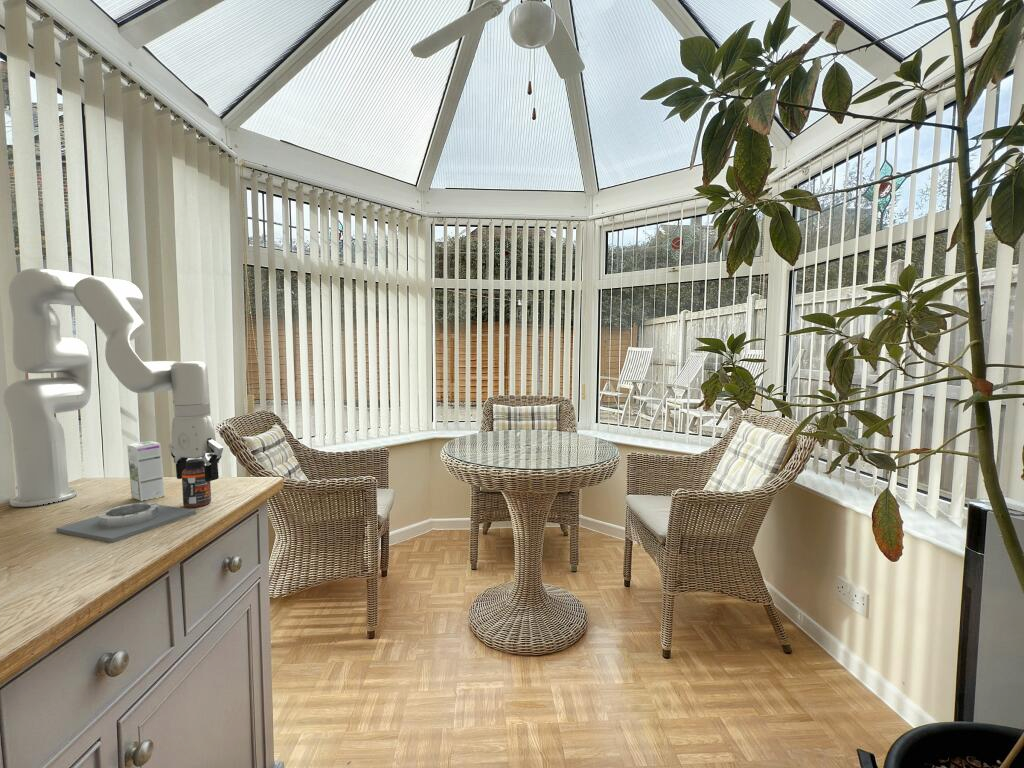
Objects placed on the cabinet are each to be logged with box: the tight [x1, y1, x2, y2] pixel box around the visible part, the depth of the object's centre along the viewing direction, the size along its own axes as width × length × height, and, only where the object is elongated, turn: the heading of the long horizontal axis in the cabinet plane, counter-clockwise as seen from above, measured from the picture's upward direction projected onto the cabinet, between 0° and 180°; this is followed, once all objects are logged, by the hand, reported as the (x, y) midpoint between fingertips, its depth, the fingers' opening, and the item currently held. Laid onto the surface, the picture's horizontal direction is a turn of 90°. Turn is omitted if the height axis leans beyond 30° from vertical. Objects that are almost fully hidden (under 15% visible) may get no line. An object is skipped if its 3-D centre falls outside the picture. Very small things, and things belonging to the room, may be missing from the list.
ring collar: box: [98, 501, 158, 528], centre depth 110 cm, size 10×10×2 cm
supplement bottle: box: [181, 458, 212, 508], centre depth 122 cm, size 6×6×11 cm
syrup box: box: [127, 440, 165, 502], centre depth 128 cm, size 6×6×14 cm
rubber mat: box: [55, 504, 197, 543], centre depth 110 cm, size 18×18×1 cm
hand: (197, 478), depth 122 cm, fingers open, 9 cm apart
